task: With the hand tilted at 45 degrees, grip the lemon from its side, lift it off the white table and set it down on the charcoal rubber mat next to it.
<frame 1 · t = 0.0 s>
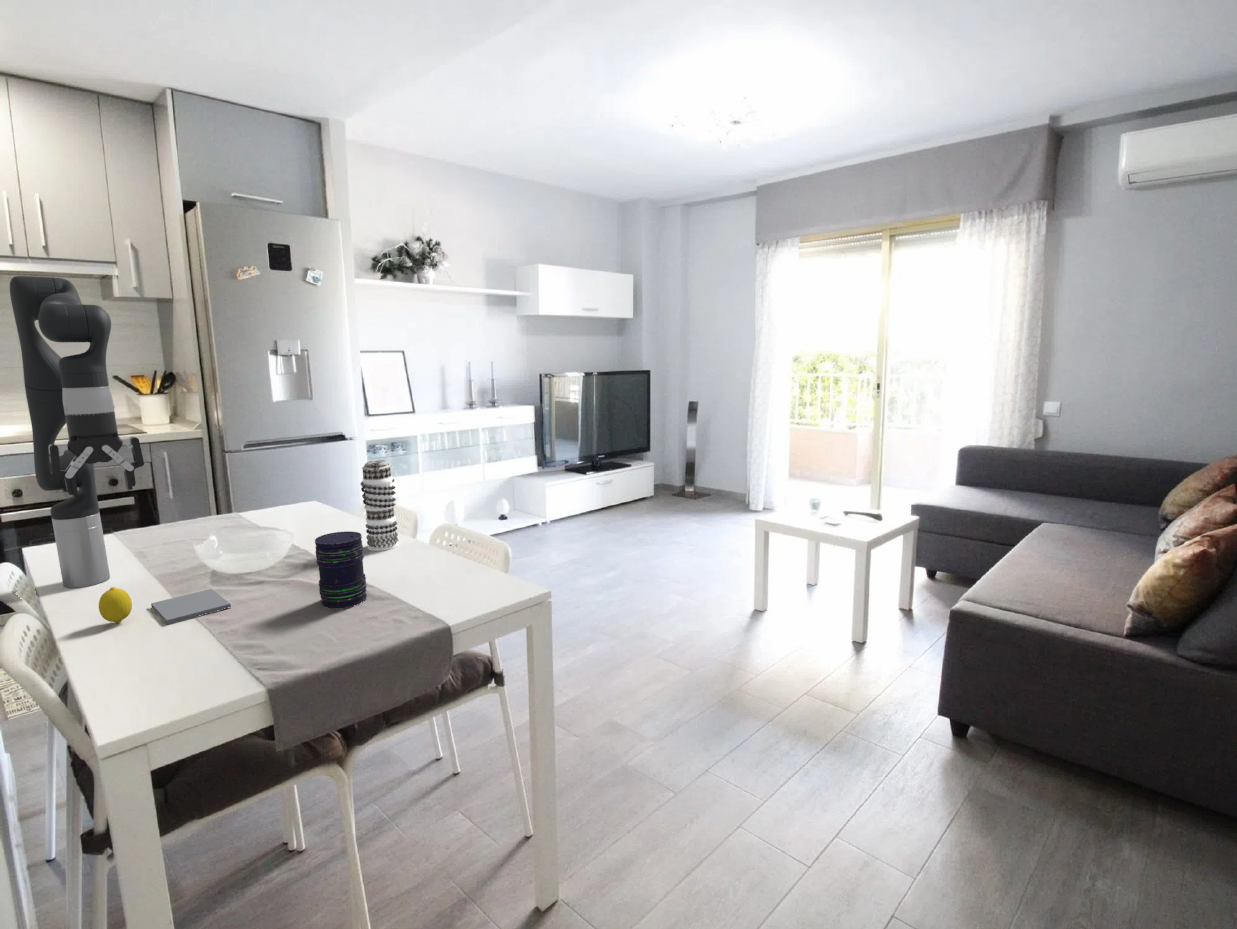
hand: (103, 493, 129), 29 cm above the table, tool pointing down, fingers open, 8 cm apart
lemon: (118, 624, 139), on the table
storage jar: (344, 601, 150), on the table
decorative candle: (383, 547, 191), on the table
mat: (191, 607, 147), on the table
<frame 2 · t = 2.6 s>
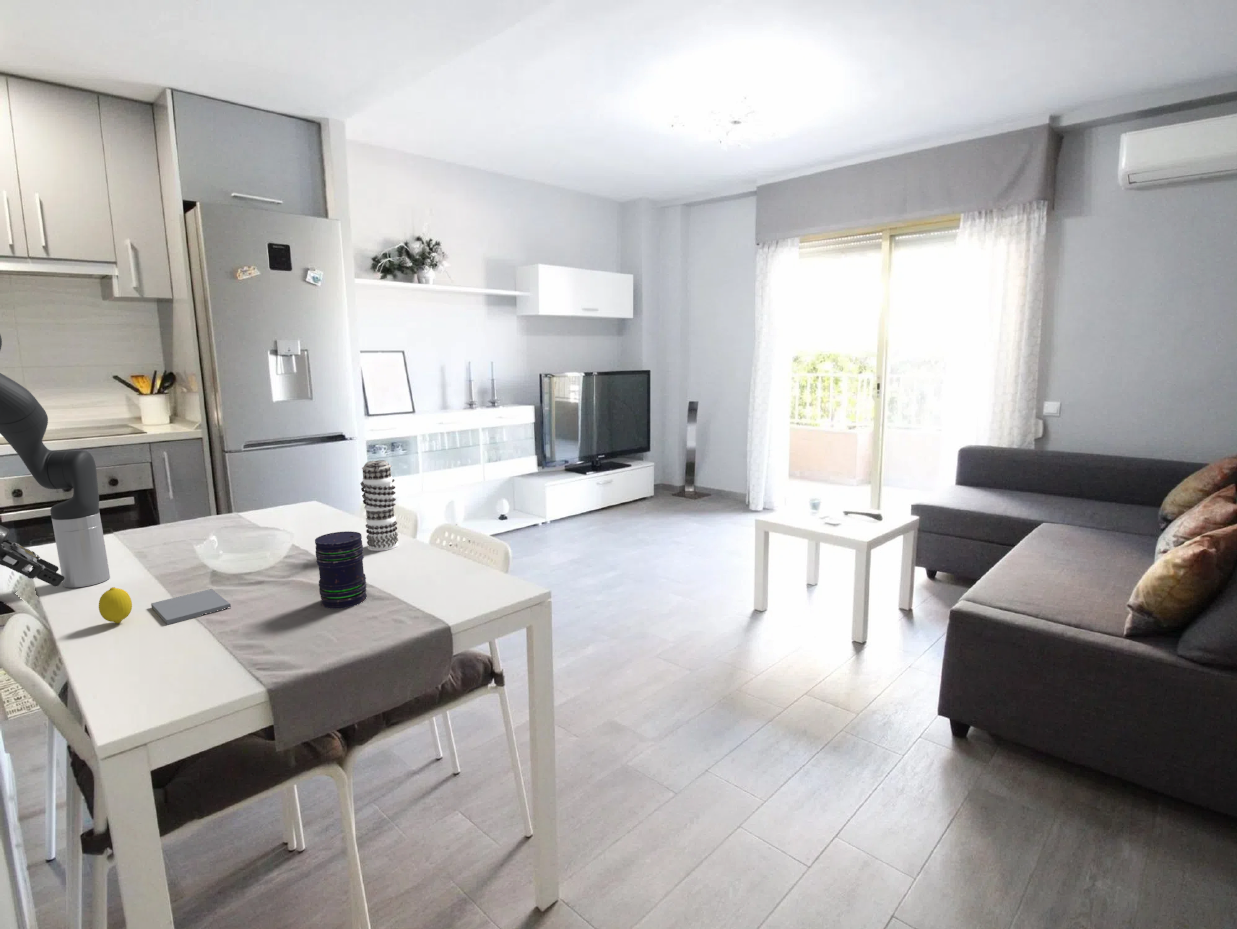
hand: (58, 577, 131), 12 cm above the table, tool tilted 45°, fingers open, 8 cm apart
nothing on the table moved.
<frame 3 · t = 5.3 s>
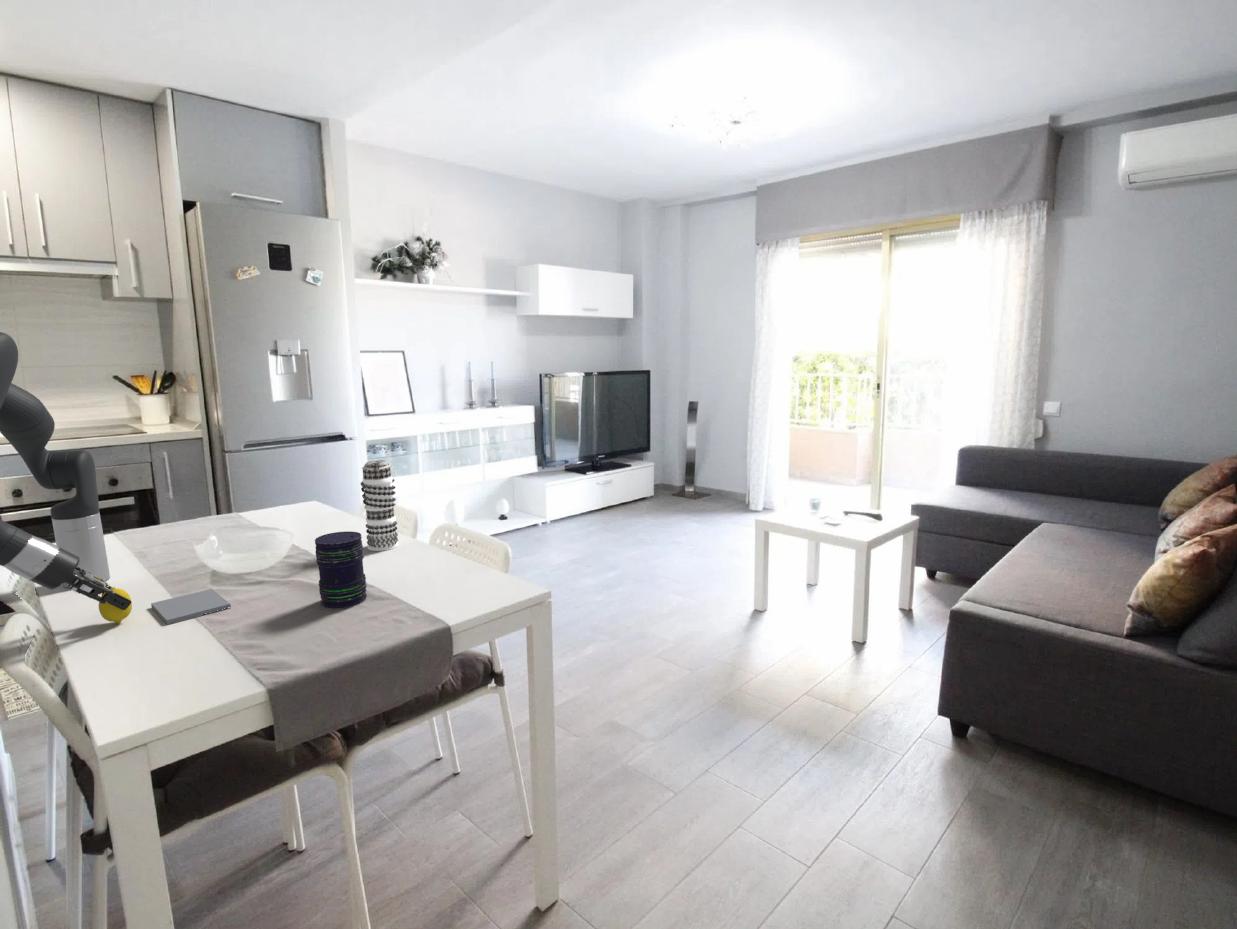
hand: (124, 602, 139), 4 cm above the table, tool tilted 45°, fingers closed on lemon, 5 cm apart
lemon: (118, 624, 139), on the table, touching gripper
everything else where it was.
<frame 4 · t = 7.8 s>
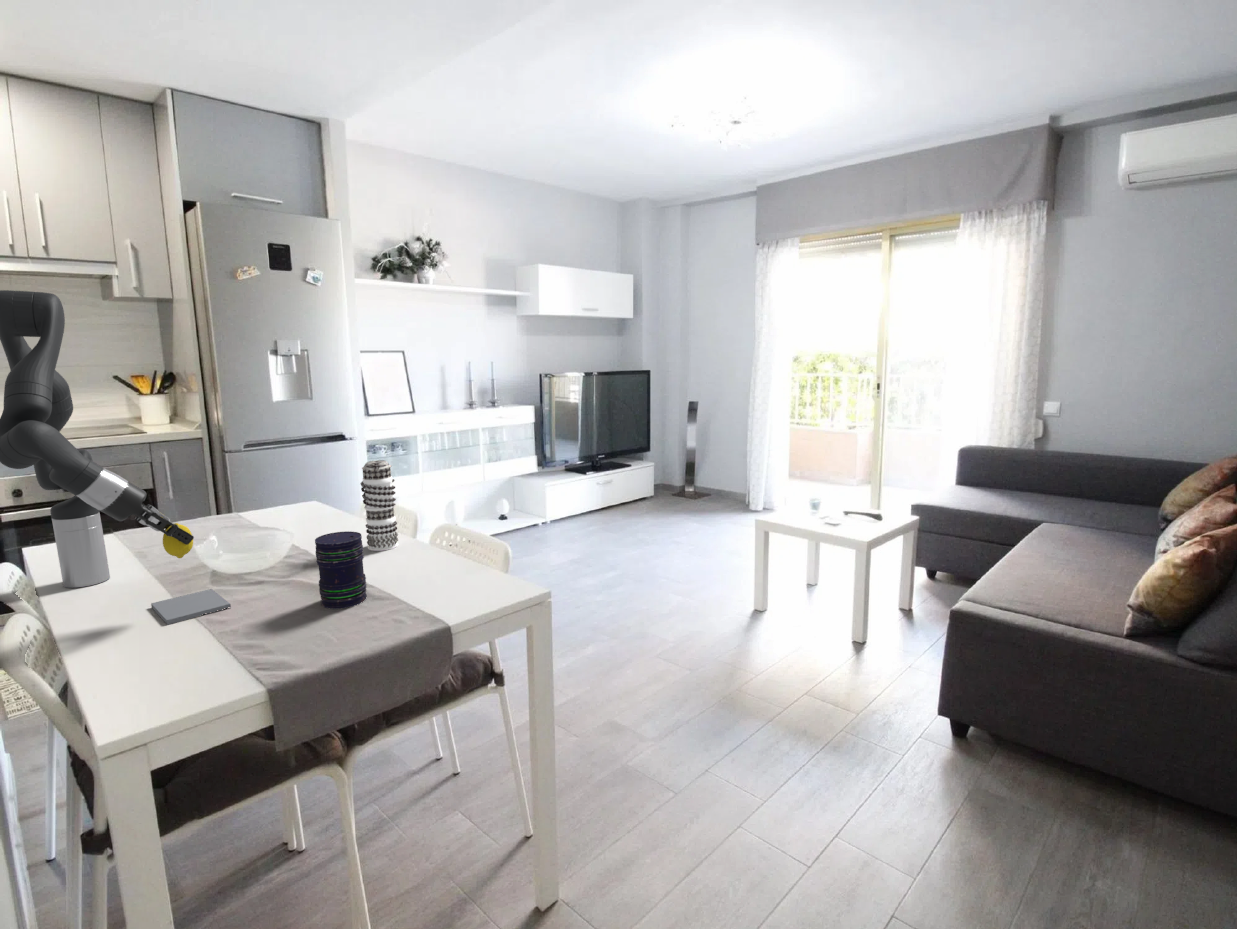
hand: (186, 538, 145), 16 cm above the table, tool tilted 45°, fingers closed on lemon, 5 cm apart
lemon: (180, 559, 144), point 12 cm above the table, touching gripper
everything else where it was.
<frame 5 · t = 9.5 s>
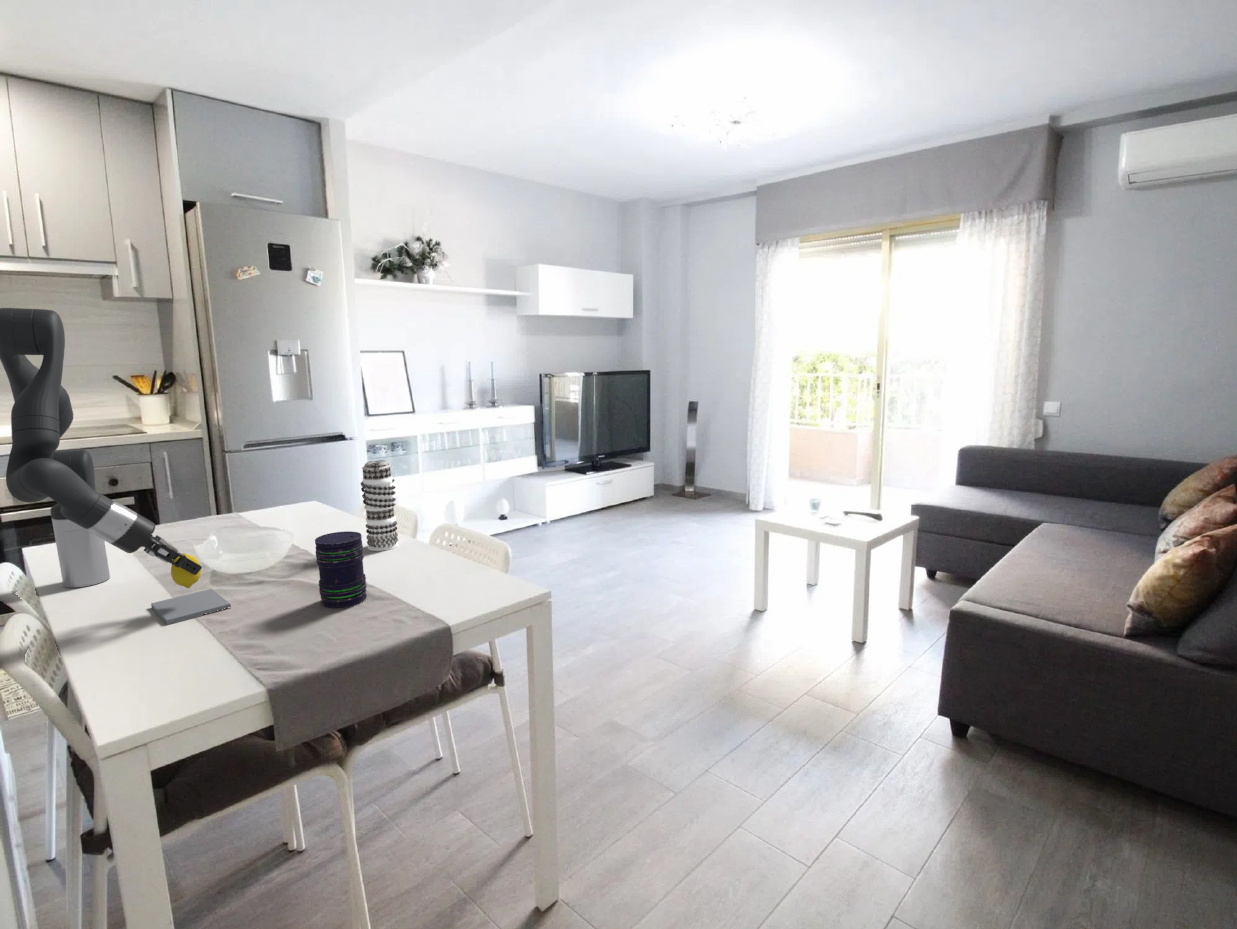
hand: (194, 567, 146), 9 cm above the table, tool tilted 45°, fingers closed on lemon, 5 cm apart
lemon: (188, 589, 146), point 4 cm above the table, touching gripper
everything else where it was.
when the fingers open (7 cm above the table, at t = 10.6 s): lemon drops 1 cm, resting on mat.
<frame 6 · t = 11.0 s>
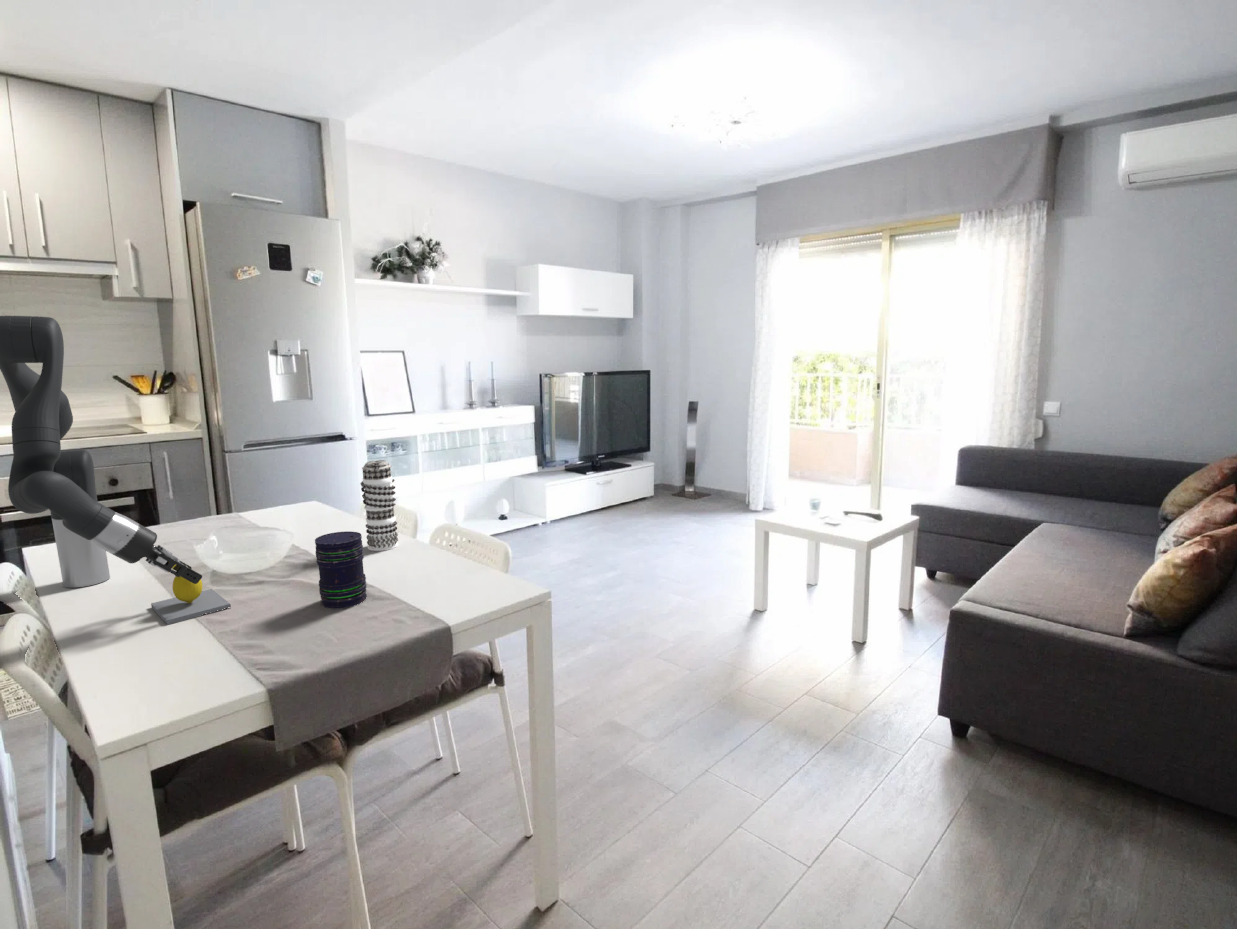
hand: (193, 575, 146), 7 cm above the table, tool tilted 45°, fingers open, 8 cm apart
lemon: (190, 604, 147), point 1 cm above the table, touching mat
everything else where it was.
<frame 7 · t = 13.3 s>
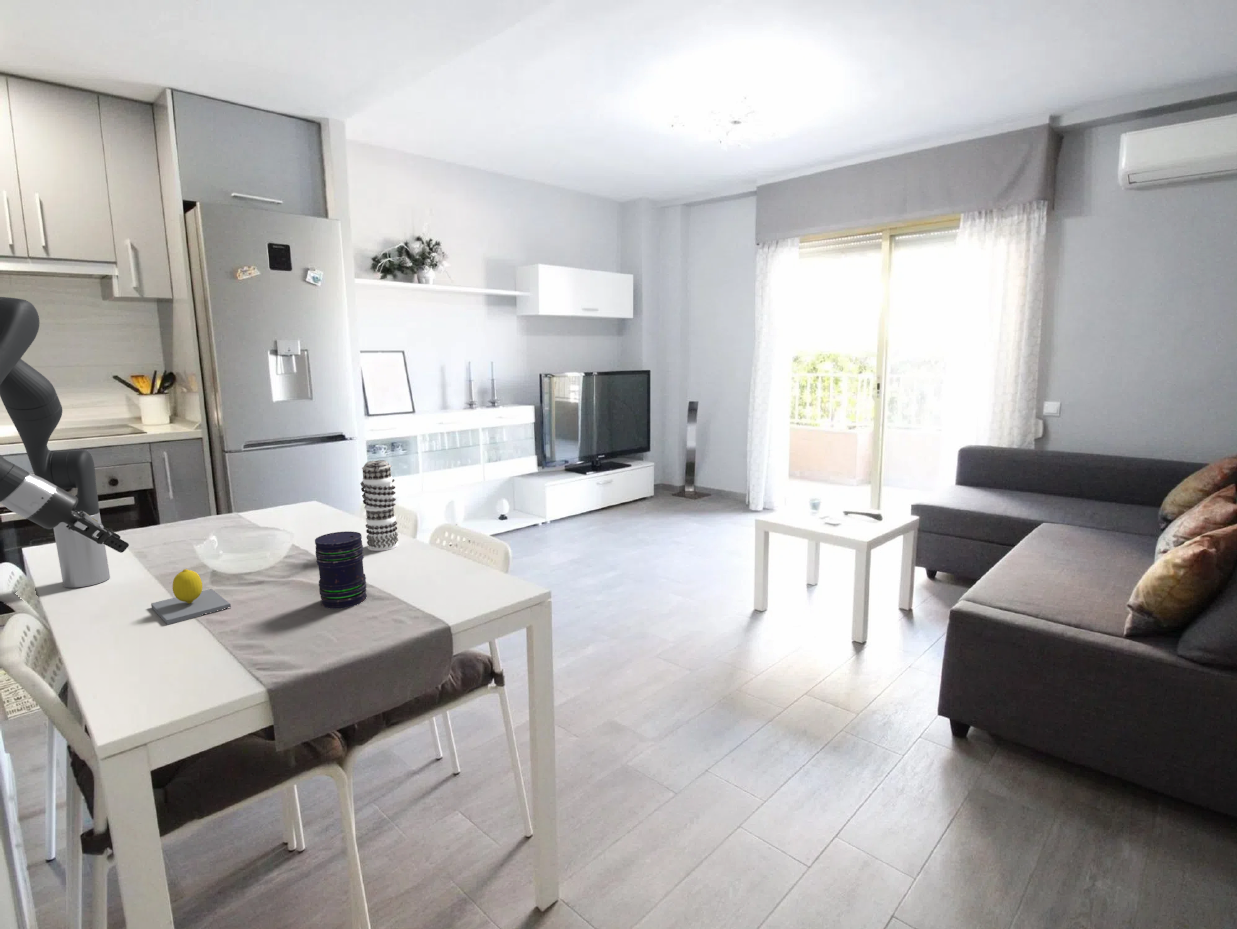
hand: (121, 544, 136), 17 cm above the table, tool tilted 45°, fingers open, 8 cm apart
nothing on the table moved.
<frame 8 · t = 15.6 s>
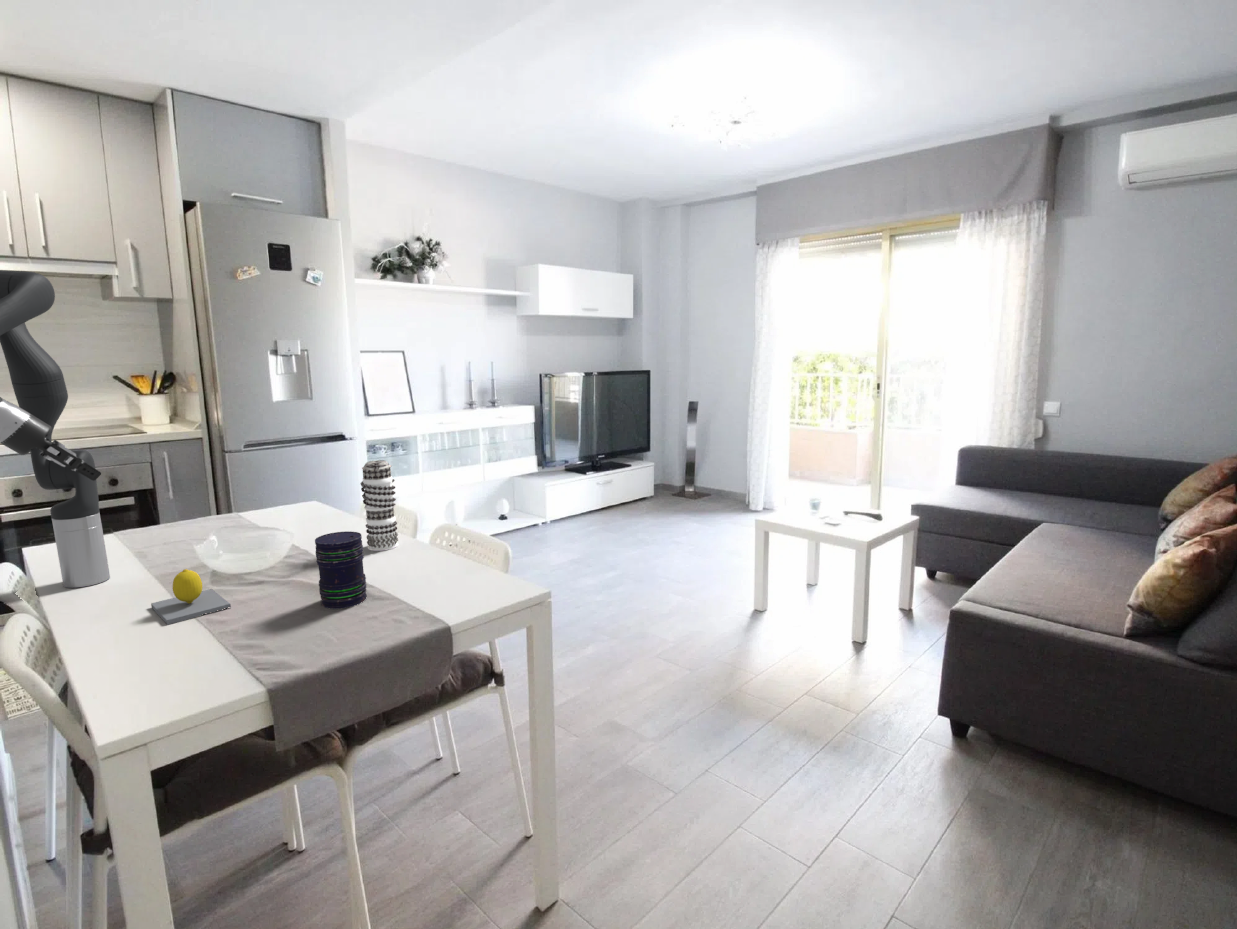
hand: (94, 474, 141), 31 cm above the table, tool tilted 45°, fingers open, 8 cm apart
nothing on the table moved.
at the end: lemon 0.1 cm from the mat (horizontally); lemon touching mat; the gripper is holding nothing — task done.
